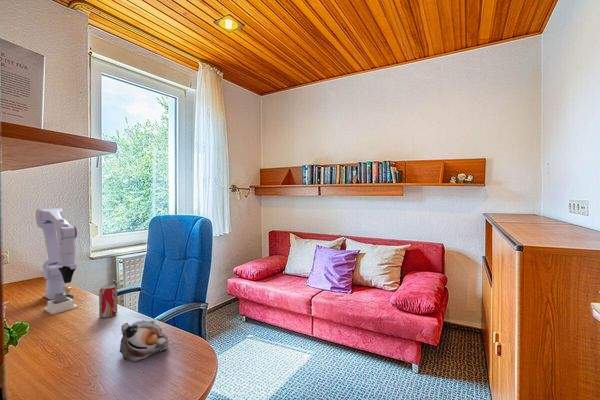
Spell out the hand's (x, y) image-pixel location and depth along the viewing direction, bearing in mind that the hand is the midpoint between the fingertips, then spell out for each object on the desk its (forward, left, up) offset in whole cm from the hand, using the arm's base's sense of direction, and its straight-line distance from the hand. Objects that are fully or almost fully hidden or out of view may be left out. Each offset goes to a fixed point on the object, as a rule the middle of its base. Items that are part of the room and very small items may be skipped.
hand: (67, 282), depth 138 cm
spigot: (+6, -5, -8) cm, 11 cm away
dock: (+4, -4, -9) cm, 11 cm away
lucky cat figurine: (+72, -4, -10) cm, 73 cm away
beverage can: (+31, +4, -9) cm, 33 cm away
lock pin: (0, 0, -6) cm, 6 cm away
